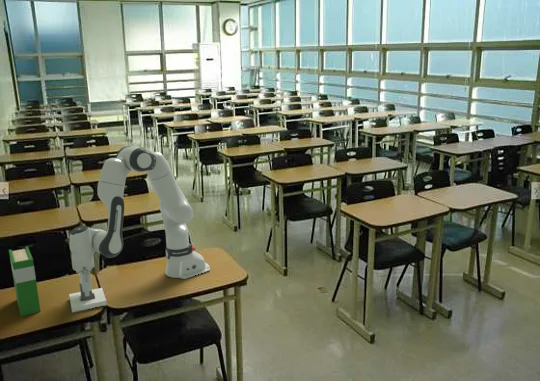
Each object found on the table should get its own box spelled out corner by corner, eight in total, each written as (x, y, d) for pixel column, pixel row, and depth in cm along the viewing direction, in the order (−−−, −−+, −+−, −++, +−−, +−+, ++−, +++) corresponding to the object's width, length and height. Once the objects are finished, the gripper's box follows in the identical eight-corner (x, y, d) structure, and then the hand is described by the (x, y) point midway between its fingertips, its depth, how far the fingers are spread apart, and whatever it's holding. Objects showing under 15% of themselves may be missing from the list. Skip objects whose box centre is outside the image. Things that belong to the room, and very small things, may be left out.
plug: (91, 293, 209) (90, 279, 208) (92, 298, 205) (91, 284, 204) (80, 296, 207) (79, 281, 206) (81, 300, 203) (80, 286, 202)
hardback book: (16, 299, 210) (8, 249, 204) (34, 295, 214) (27, 246, 208) (21, 316, 196) (12, 263, 190) (40, 311, 200) (32, 259, 194)
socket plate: (102, 292, 216) (102, 287, 216) (106, 305, 204) (106, 300, 203) (69, 299, 210) (69, 294, 210) (72, 313, 198) (71, 307, 197)
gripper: (93, 271, 195) (96, 301, 198) (88, 254, 213) (91, 282, 216) (77, 273, 192) (81, 304, 196) (73, 256, 210) (77, 285, 213)
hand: (86, 292), depth 206 cm, fingers closed on plug, 4 cm apart
